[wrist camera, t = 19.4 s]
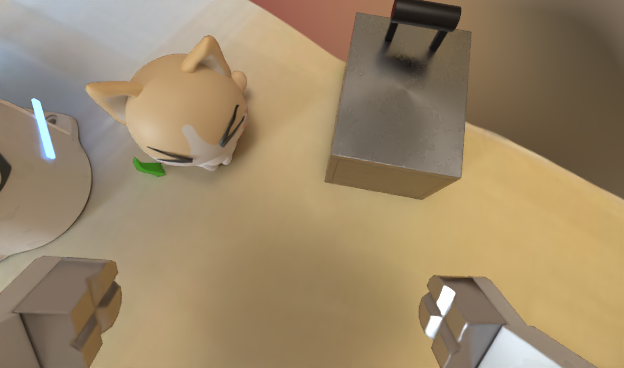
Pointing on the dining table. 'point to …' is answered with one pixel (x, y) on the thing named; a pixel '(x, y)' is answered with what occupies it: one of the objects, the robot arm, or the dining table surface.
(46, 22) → the dining table surface
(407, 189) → the tin
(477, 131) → the dining table surface
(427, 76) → the tin lid
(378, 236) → the dining table surface
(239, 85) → the kitten
